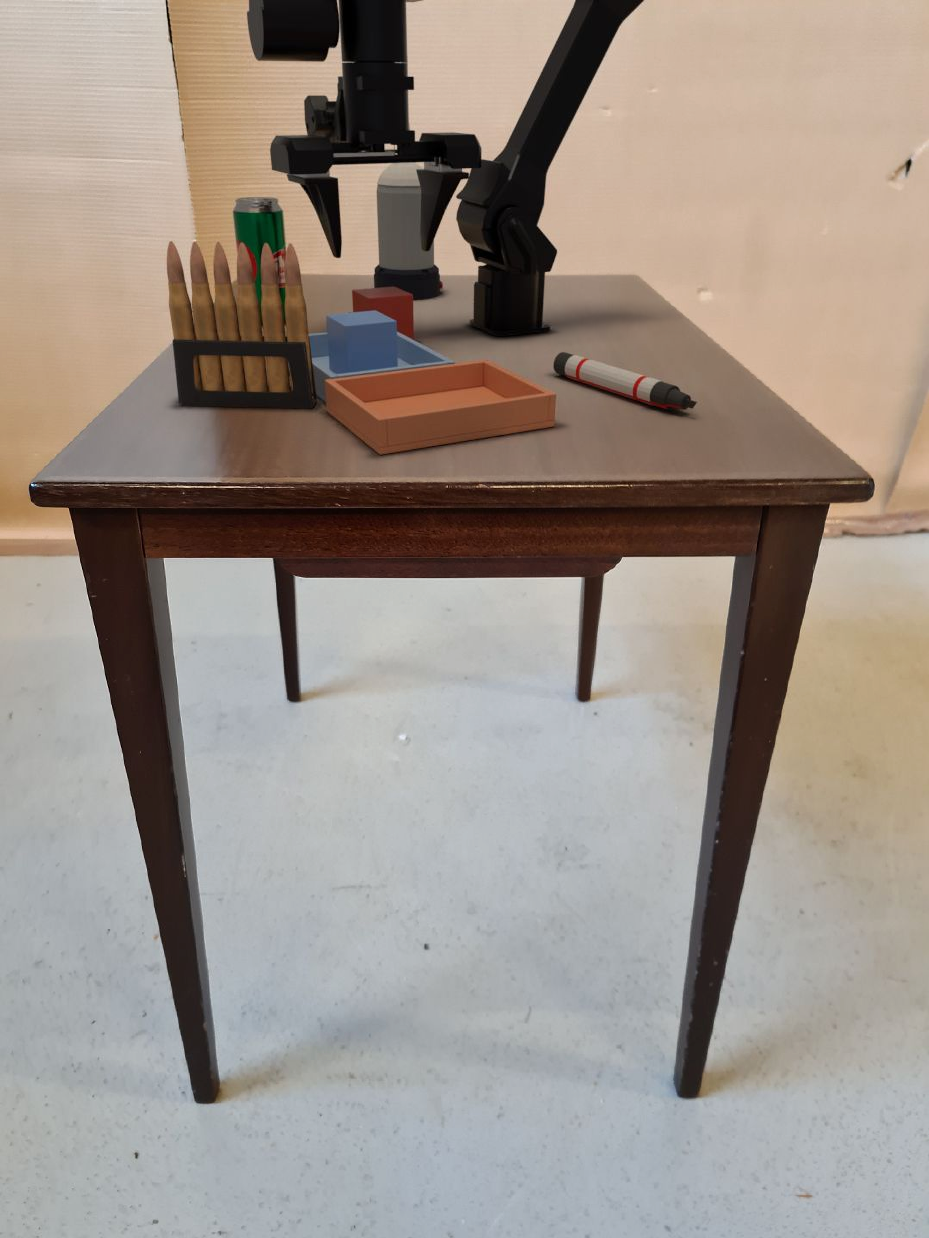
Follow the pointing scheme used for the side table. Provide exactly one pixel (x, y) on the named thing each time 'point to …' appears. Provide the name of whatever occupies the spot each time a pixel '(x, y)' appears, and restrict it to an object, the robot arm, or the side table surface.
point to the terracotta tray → (438, 405)
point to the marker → (622, 382)
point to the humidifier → (403, 234)
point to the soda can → (262, 237)
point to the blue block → (361, 341)
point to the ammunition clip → (217, 357)
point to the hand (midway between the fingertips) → (382, 254)
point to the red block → (387, 306)
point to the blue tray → (408, 358)
